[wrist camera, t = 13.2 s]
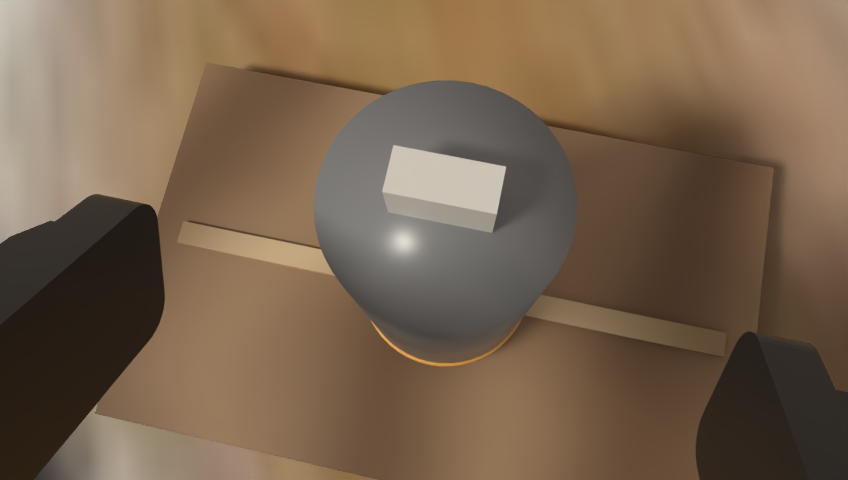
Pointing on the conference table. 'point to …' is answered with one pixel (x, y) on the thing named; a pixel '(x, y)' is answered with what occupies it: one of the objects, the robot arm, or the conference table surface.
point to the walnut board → (429, 385)
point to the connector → (445, 217)
